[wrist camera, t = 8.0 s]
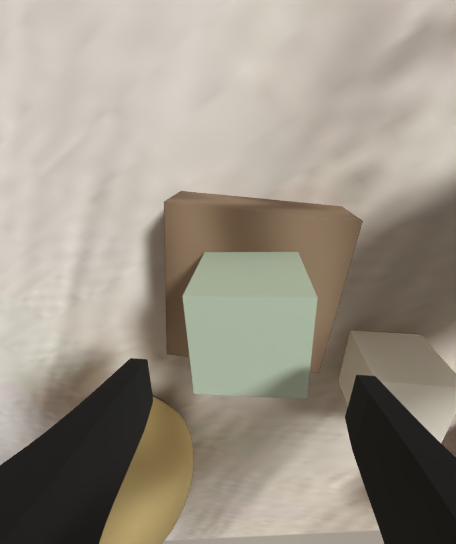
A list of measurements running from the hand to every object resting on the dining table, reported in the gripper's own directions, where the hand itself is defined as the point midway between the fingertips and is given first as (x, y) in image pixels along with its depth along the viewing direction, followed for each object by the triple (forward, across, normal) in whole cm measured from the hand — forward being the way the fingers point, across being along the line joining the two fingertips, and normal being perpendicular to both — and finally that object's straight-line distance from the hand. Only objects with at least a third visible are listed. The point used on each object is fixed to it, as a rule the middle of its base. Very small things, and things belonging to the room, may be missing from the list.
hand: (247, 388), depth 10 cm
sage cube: (+7, 0, 0) cm, 7 cm away
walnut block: (+11, 0, 0) cm, 11 cm away
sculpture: (+11, +10, +16) cm, 22 cm away
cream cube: (+10, -10, +7) cm, 16 cm away
